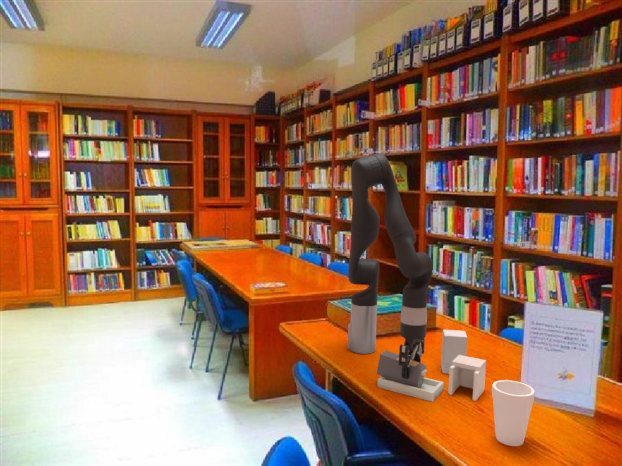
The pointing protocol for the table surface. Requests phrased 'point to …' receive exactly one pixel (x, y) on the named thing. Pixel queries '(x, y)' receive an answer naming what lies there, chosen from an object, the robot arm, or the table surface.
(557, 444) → the table surface
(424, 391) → the tray
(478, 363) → the bay
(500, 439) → the foam cup
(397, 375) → the grey rectangular block
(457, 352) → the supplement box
